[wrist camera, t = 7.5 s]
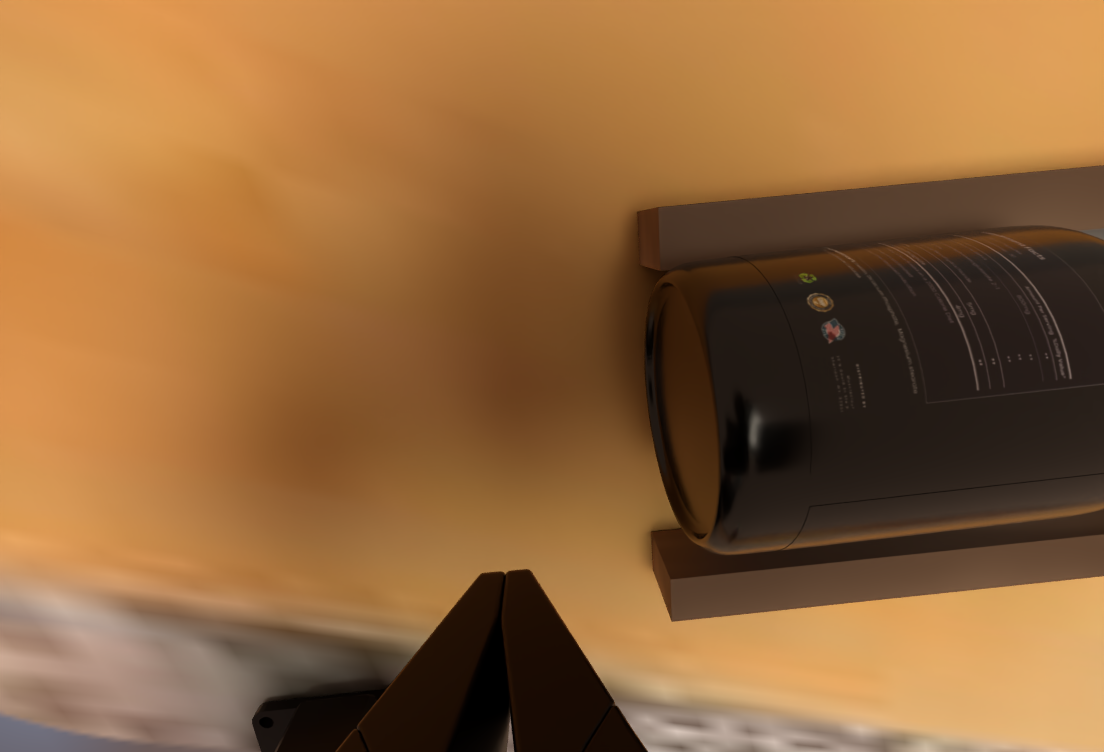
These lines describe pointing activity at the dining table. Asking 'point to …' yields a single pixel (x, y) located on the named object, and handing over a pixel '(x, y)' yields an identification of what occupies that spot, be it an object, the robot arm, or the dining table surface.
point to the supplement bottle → (879, 388)
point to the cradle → (900, 562)
